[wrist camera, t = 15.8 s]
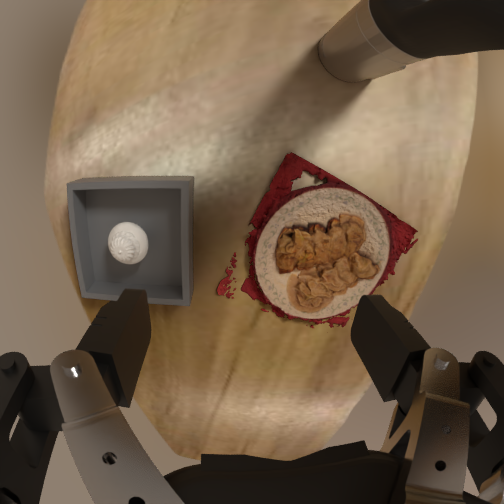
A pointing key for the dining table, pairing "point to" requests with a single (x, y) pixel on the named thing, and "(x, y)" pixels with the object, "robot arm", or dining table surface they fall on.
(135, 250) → the white ribbed rounded piece
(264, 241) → the plate with food
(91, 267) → the serving bin
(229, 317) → the dining table surface
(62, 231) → the dining table surface
